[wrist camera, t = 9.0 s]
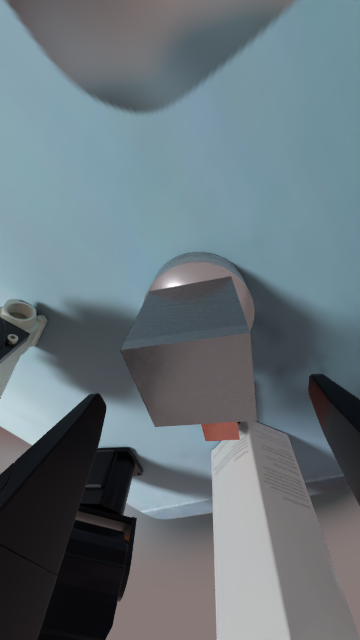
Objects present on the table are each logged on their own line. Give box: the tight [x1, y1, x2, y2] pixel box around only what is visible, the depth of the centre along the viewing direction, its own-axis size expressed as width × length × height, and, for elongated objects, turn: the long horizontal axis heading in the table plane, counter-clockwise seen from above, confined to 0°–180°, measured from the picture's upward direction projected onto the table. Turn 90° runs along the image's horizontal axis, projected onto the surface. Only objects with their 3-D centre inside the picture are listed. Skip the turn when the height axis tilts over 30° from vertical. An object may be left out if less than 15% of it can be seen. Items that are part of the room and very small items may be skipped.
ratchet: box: [143, 252, 255, 441], centre depth 18 cm, size 19×8×6 cm, turn 12°
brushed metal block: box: [120, 276, 257, 427], centre depth 12 cm, size 5×5×6 cm
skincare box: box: [211, 421, 360, 640], centre depth 20 cm, size 8×6×15 cm
